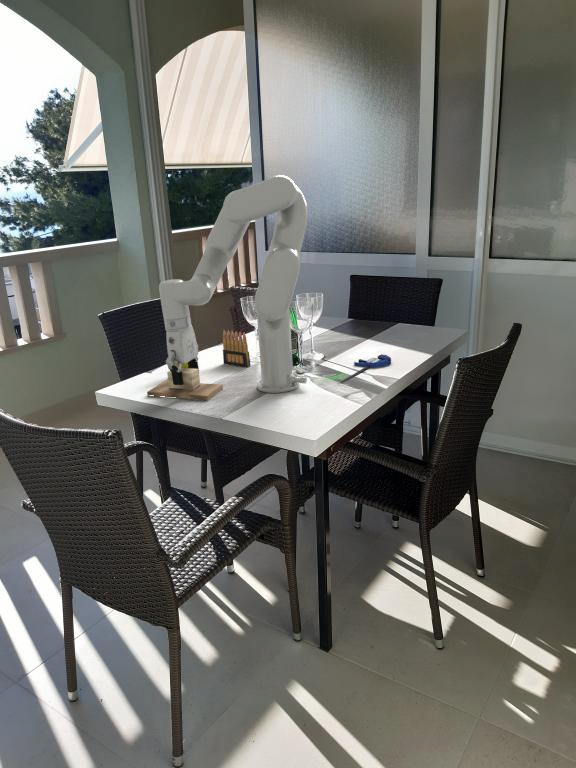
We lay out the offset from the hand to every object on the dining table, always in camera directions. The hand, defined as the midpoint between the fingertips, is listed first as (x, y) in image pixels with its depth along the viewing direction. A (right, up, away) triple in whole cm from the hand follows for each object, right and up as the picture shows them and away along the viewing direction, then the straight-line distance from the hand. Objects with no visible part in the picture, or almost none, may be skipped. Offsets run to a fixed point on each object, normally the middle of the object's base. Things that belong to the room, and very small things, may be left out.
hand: (186, 379), depth 181 cm
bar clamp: (+51, +1, +9) cm, 52 cm away
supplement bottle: (-4, +1, +19) cm, 19 cm away
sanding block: (-1, -3, +1) cm, 3 cm away
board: (-1, -4, +1) cm, 4 cm away
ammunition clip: (+13, +5, +26) cm, 29 cm away
